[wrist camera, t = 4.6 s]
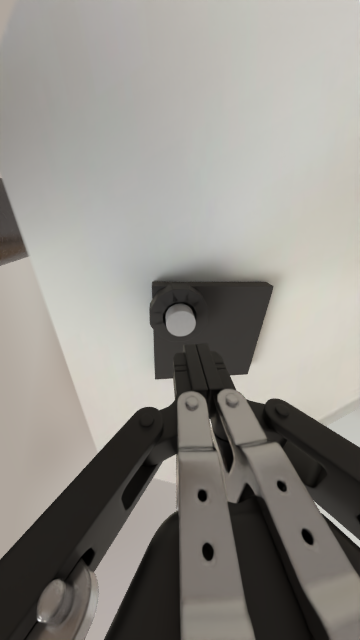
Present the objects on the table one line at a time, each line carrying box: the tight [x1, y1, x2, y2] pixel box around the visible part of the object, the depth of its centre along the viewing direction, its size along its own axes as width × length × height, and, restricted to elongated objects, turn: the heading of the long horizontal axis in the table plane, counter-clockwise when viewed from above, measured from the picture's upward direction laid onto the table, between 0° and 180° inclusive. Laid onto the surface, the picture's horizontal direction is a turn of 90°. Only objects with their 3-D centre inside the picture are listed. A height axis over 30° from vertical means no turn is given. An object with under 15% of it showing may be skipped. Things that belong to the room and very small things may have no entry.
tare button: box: [166, 304, 196, 336], centre depth 17 cm, size 3×3×2 cm
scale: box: [150, 282, 273, 379], centre depth 21 cm, size 12×12×3 cm
